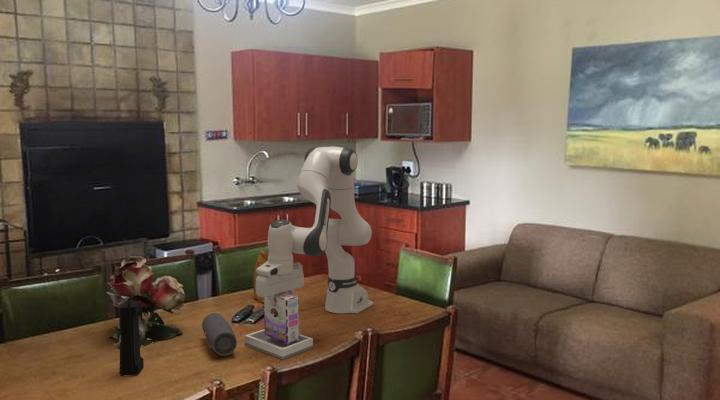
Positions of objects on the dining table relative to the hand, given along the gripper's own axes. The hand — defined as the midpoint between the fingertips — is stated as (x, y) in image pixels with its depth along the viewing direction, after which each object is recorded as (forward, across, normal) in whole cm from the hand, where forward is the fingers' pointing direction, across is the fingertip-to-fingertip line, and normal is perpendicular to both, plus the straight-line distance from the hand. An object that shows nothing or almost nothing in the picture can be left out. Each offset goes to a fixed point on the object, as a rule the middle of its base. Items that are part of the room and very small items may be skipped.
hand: (281, 304), depth 219 cm
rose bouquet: (+16, +26, -49) cm, 58 cm away
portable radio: (+16, +47, -19) cm, 53 cm away
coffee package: (+15, -33, -47) cm, 60 cm away
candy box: (+13, 0, 0) cm, 13 cm away
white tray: (+15, +1, 0) cm, 16 cm away
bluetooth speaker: (+16, +16, -15) cm, 27 cm away
